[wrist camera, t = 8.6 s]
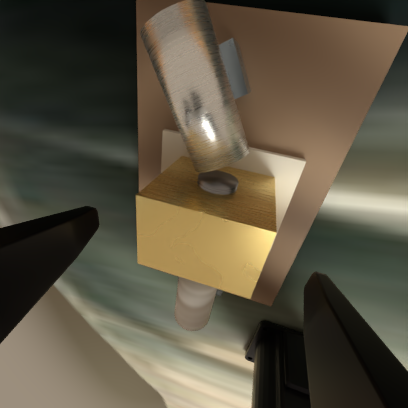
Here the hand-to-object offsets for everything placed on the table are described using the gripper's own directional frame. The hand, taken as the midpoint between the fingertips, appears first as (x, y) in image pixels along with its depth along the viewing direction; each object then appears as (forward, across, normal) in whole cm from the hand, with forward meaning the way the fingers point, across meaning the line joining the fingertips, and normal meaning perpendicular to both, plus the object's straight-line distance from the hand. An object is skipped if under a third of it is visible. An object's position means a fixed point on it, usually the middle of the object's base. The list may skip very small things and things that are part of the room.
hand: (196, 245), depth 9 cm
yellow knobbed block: (+5, 0, 0) cm, 5 cm away
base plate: (+7, 0, 0) cm, 7 cm away
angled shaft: (+5, +1, -5) cm, 7 cm away
